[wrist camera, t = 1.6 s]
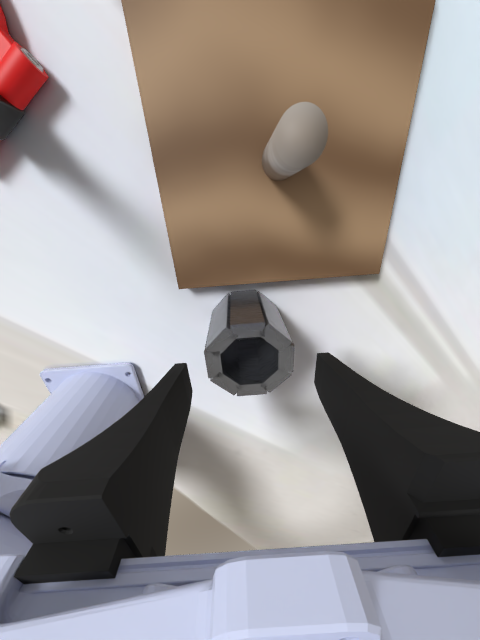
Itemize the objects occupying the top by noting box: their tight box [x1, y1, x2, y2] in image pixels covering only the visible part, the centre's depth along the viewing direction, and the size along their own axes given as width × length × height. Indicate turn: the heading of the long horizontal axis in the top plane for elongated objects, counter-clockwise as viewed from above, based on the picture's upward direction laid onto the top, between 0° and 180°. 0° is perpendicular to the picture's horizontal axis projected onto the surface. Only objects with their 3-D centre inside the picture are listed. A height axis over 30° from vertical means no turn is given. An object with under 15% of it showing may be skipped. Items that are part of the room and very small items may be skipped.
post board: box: [121, 0, 435, 289], centre depth 11 cm, size 14×14×6 cm
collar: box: [204, 290, 294, 396], centre depth 16 cm, size 5×5×6 cm
